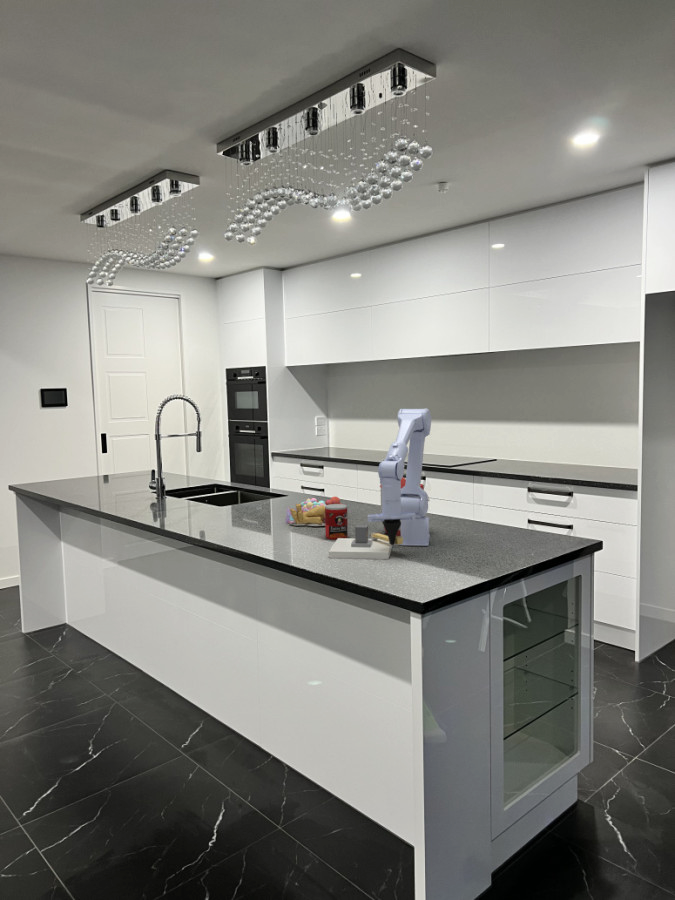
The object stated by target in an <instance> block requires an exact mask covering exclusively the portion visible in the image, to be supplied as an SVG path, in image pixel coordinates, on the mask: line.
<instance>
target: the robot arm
mask: <svg viewBox="0 0 675 900" xmlns="http://www.w3.org/2000/svg"><path fill="white" fill-rule="evenodd" d="M396 417H397V425H398V432H397V435H396V439H395V441H394V442H392V443H390V446H389V449H388V451H387V453H386V456H385V459H384V460H382V461H381V462H380V463H379V465H378V470H377V472H378V474H377V475H378V477H379V484H380V485H382V513H381V512H380V513H374V514H368V515H367V523H373V522H375V523H376V522H382V525H383V528H384V527H385V529H386V531H385V533H386V532H387V533H386V534H387V536H388V538H389V544H391V545H393V546H394V545H395V544H394V542H395V538H396V537H397V536H396V534H397V532H398V530H399V528H400V526H401V536H400V537H403V544H399V545H398V546H409V547H410V546H411V547H412V546H413V547H415V546H417V547H418V546H419V547H422V546H423V547H429V545H430V544H429V543H430V540H431V534H430V517H429V516H426V515H427V514H428V511H429V501H428V497H429V496H428V495H429V494H428V492H427V491H425V490H423V489H422V488H421V487H420V484H422V483H421V482H422V471H423V461H424V453H425V452H424V450H425V449H424V448H425V441H426V437H428V436H429V435H431V434H430V433H431V427H432V426H431V425H432V414H431V411H430V410H429V409H428V407H426V408H400V409H399V410H398V412H397V416H396ZM408 443H409V446H408ZM406 458H407V463H406V464H407V465H406V475H405V479H406V483H405V486H404V487H403V488H401V479H402V477H404V473H405V460H406ZM380 485H379V486H380ZM414 496H420V497H414ZM423 516H424V517H423ZM400 520H401V522H400ZM385 529H384V530H385Z"/></svg>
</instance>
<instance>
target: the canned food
mask: <svg viewBox="0 0 675 900" xmlns="http://www.w3.org/2000/svg"><path fill="white" fill-rule="evenodd" d="M348 526H349V525H348V505H346V504H343V503H341V504H330V505H326V506H325V526H324V528H325V529H324V530H325V537H326V538H325V539H327V540H332V541H336V540H337V539H338V538H348V533H349V531H348V530H349V529H348V528H349V527H348Z"/></svg>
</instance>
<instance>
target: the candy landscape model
mask: <svg viewBox="0 0 675 900" xmlns="http://www.w3.org/2000/svg"><path fill="white" fill-rule="evenodd" d="M330 504H342V503H341V500H340V498H339V497H338V496H332V497H331V498H330V499H326V500H317V498H315V497H312V498H307V499H306V500H305V501H301V503H296V504H295V509H294V508H291V507H287V508H286V516H285V524H287V525H288V524H289V525H291V526H309V527H323V526H324V527H325V506H326V505H330Z"/></svg>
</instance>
